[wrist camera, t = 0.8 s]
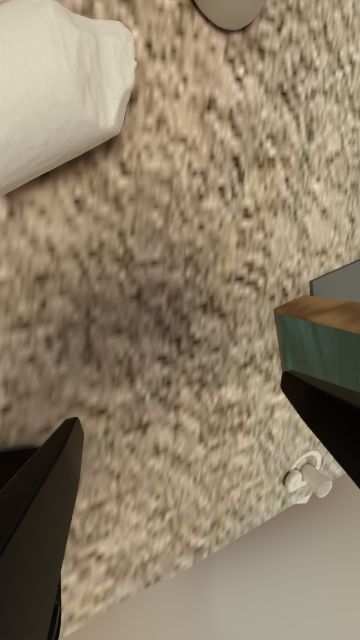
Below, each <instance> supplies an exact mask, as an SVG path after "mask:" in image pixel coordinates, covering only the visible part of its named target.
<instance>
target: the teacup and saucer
mask: <svg viewBox="0 0 360 640" xmlns="http://www.w3.org/2000/svg"><path fill="white" fill-rule="evenodd" d="M310 455H313V456H315V457H316V459H317V464H316V467H315V468H314V467H313V466H311V465H309V464H305V465H304V466H303V467H302V468H301V470H300V471H298V470H294V468H295V467H296V465H297V464H298V463H299V462H300V461H301V460H302V459H303V458H305V457H307V456H310ZM320 465H321V455H320V453H319V452H318V451H309V452H307V453H305V454H303V455H302V456H300V457H299V458H298V459H297V460H296V461H295V463H294V464H293V465H292V467H291V469H290V471H289V473H288V476H287V478H286V480H285V487H286V489H287V490H288V491H289V492H294V491H295V490H296V489H297V488H300V487H302V486H304V485H306V484H308V485H309V486H310V487H311V489H312V490H313V491H314V492H315V493H316V494H317V496H318V497H323V496H325V495H326V494H327V493H328V492H329V491H330V489H331V487H332V479H331V478H330V477H329V476H328V475H326V474H325V473H323V472H321V471H319V467H320ZM302 477H303V479H304V480H305V481H303V482H301V480H302ZM328 479H329V480H330V481H329V480H328ZM311 494H312V493H311ZM311 494H310V495H311ZM310 495H308V496H306V497H305V498H303V499H301V500H300V501H298V502H297V503H295V504H299V503H307V501H308V499H309V498H310Z"/></svg>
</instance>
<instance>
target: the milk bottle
mask: <svg viewBox="0 0 360 640" xmlns="http://www.w3.org/2000/svg"><path fill="white" fill-rule="evenodd" d="M194 1H195V3H196V4H197V5H198V7H199V8H200V10H201V12H202V13H203V14H204V15H205V16H206V17H207V18H208V19H209V20H210V21H211V22H213V23H214V24H215V25H217V26H219V27H221V28H223V29H226V30H237V29H241V28H243V27H244V26H246V25H248V24H249V23H251V22H252V21H253V20H254V19H255V18H256V17H257V15H258V14H259V12H260V11H261V9H262V8H263V6H264V4H265V3H266V1H267V0H194Z"/></svg>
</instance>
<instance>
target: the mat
mask: <svg viewBox="0 0 360 640" xmlns="http://www.w3.org/2000/svg"><path fill="white" fill-rule="evenodd" d="M310 292H311V296H315V297H323V298H330V299H338V300H345V301H353V302H360V259H359V260H357V261H355V262H353V263H350V264H348V265H346V266H343V267H341V268H339V269H337V270H334V271H332V272H330V273H328V274H325V275H323V276H321V277H318V278H316V279H314V280H312V281H310Z"/></svg>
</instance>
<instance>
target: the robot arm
mask: <svg viewBox="0 0 360 640" xmlns="http://www.w3.org/2000/svg"><path fill="white" fill-rule="evenodd" d="M280 386H281V389H282V391H283V393H284V394H285V396H286V397H287V398H288V400H289V401H290V403H291V404H292V406H293V407H294V408H295V410H296V411H297V413H298V414H299V416H300V417H301V418H302V420H303V421H304V422H305V424H306V425H307V426H308V427H309V428H310V430H311V431H312V432H313V433H314V434H315V436H316V437H317V438H318V439H319V440H320V442H321V443H322V444H323V445H324V446H325V448H326V449H327V450H328V451H329V453H330V454H331V455H332V456H333V457H334V459H335V460H336V461H337V462H338V463H339V465H340V466H341V467H342V468H343V469H344V471H345V472H346V473H347V474H348V475H349V477H350V478H351V479H352V480H353V481H354V483H355V484H356V485H357V486H358V488H359V489H360V392H357V391H354V390H351V389H348V388H345V387H342V386H339V385H336V384H333V383H330V382H327V381H324V380H321V379H318V378H316V377H313V376H310V375H307V374H304V373H301V372H298V371H295V370H286V371H283V373H282V378H281V384H280ZM83 441H84V433H83V429H82V426H81V423H80V420H79V418H78V417H73V418H68V419H66V420H65V421H64V422H63V423H62V424H61V425H60V426H59V427H58V428H57V429H56V430H55V432H54V433H53V434H52V435H51V436H50V437H49V438H48V439H47V440H46V442H45V443H44V444H43V445H42V446H41V447H40V448H36V449H27V450H19V451H10V452H2V453H0V640H58V639H59V633H60V626H61V568H62V563H63V559H64V554H65V549H66V544H67V539H68V535H69V530H70V525H71V520H72V515H73V511H74V506H75V501H76V496H77V491H78V486H79V479H80V470H81V460H82V451H83Z"/></svg>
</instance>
